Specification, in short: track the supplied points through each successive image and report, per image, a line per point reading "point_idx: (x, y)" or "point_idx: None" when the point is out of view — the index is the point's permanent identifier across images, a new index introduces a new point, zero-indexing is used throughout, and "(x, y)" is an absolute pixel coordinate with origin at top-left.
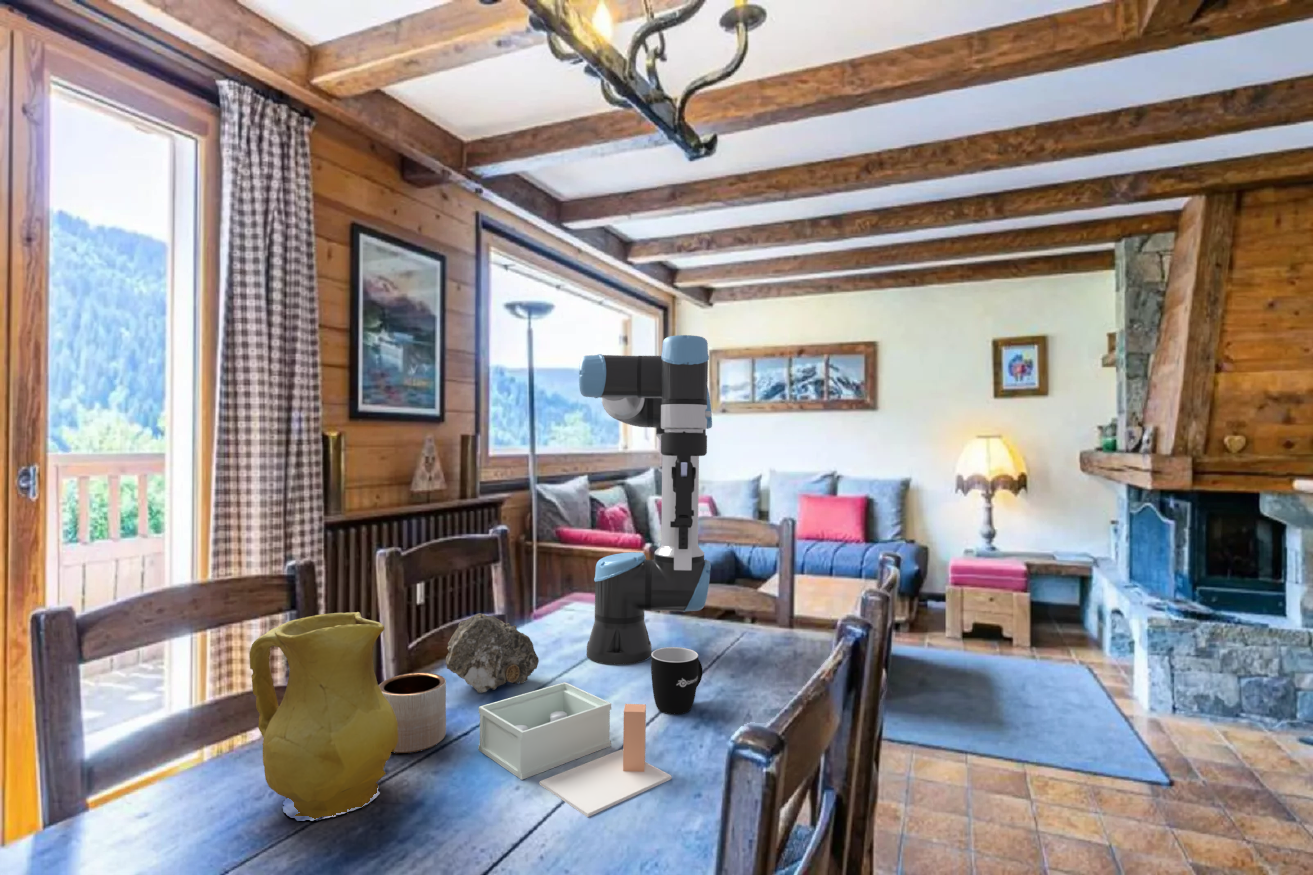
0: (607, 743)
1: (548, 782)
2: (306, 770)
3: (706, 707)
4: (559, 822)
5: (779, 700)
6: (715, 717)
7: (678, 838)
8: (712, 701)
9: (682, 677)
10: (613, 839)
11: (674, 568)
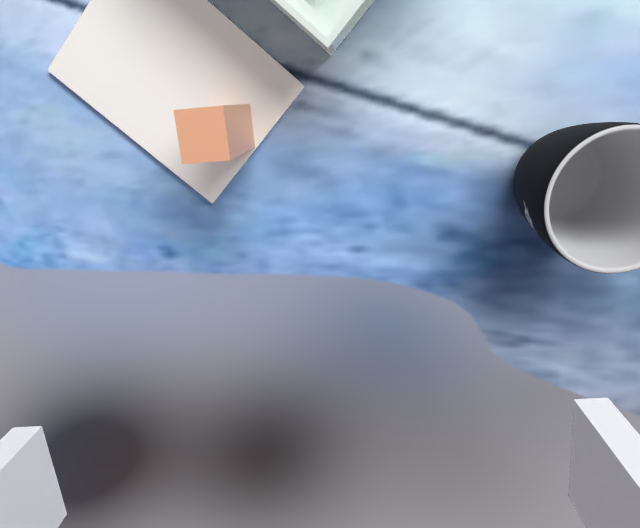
0: (323, 48)
1: None
2: None
3: None
4: (20, 21)
5: None
6: (505, 273)
7: (37, 229)
8: None
9: (532, 221)
10: (3, 129)
11: (7, 436)
